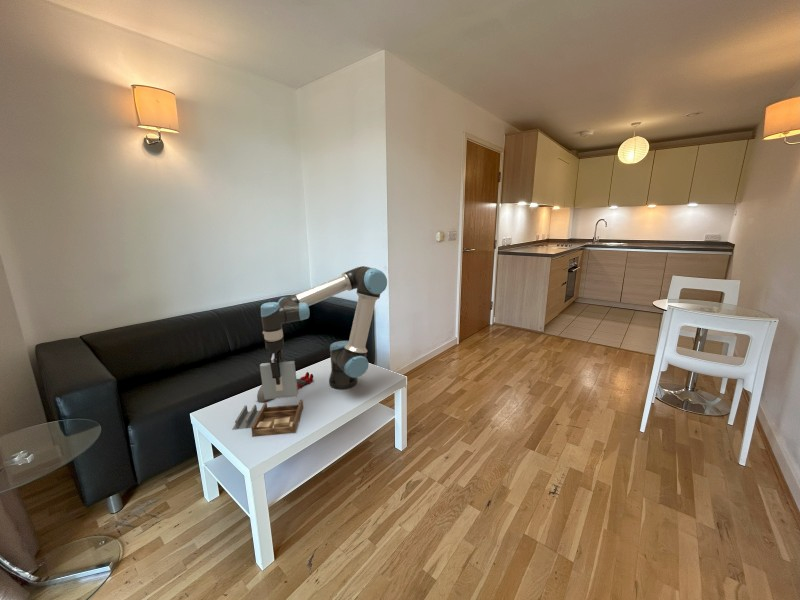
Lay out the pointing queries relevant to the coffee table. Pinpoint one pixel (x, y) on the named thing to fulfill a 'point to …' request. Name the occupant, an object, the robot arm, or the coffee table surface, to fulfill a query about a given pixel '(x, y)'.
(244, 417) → the stand
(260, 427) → the offcut
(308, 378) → the toy
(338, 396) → the coffee table surface
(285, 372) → the grey flat slab
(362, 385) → the coffee table surface
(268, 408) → the rack
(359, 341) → the robot arm
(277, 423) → the offcut
